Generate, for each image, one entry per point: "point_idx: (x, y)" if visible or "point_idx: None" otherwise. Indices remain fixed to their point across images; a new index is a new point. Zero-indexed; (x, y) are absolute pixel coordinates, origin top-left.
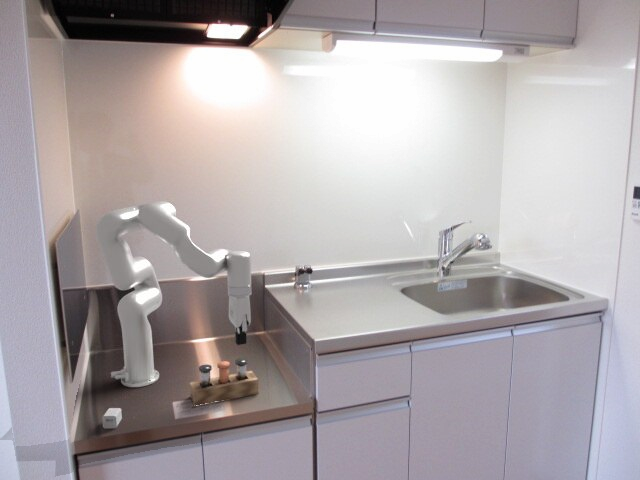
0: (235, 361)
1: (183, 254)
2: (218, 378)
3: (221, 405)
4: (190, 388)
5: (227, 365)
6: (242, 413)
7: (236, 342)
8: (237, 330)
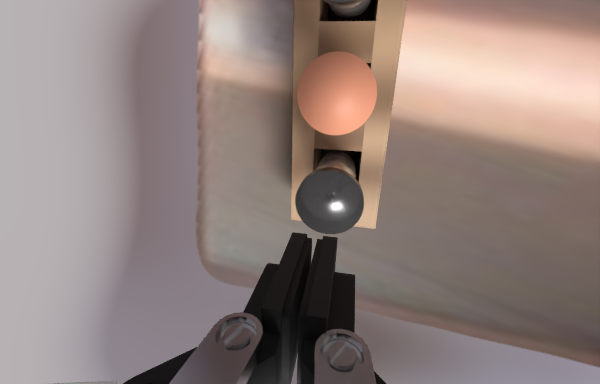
0: (334, 171)
1: None
2: (380, 71)
3: (275, 53)
4: None
5: (302, 111)
6: (202, 106)
7: (319, 242)
8: (238, 353)
